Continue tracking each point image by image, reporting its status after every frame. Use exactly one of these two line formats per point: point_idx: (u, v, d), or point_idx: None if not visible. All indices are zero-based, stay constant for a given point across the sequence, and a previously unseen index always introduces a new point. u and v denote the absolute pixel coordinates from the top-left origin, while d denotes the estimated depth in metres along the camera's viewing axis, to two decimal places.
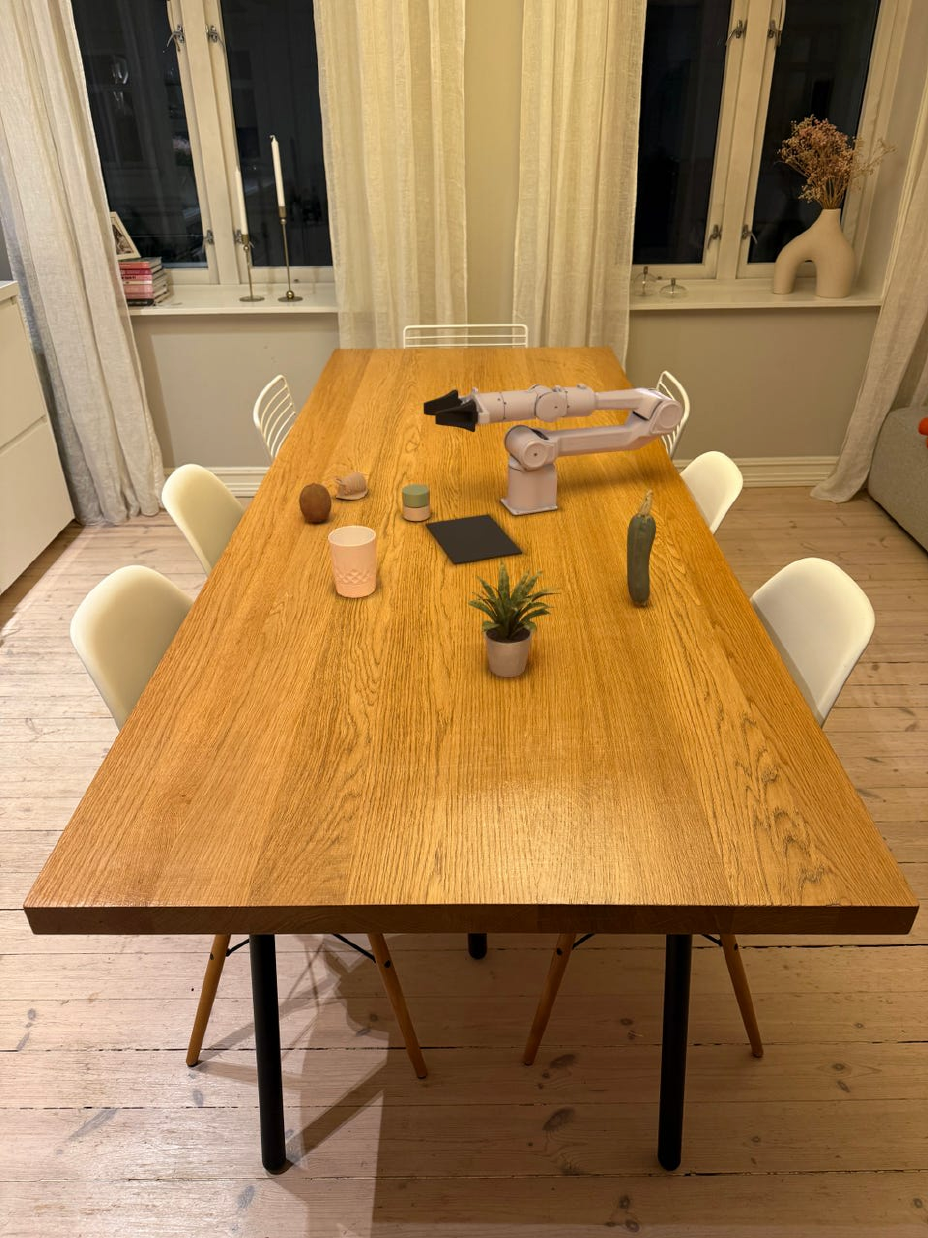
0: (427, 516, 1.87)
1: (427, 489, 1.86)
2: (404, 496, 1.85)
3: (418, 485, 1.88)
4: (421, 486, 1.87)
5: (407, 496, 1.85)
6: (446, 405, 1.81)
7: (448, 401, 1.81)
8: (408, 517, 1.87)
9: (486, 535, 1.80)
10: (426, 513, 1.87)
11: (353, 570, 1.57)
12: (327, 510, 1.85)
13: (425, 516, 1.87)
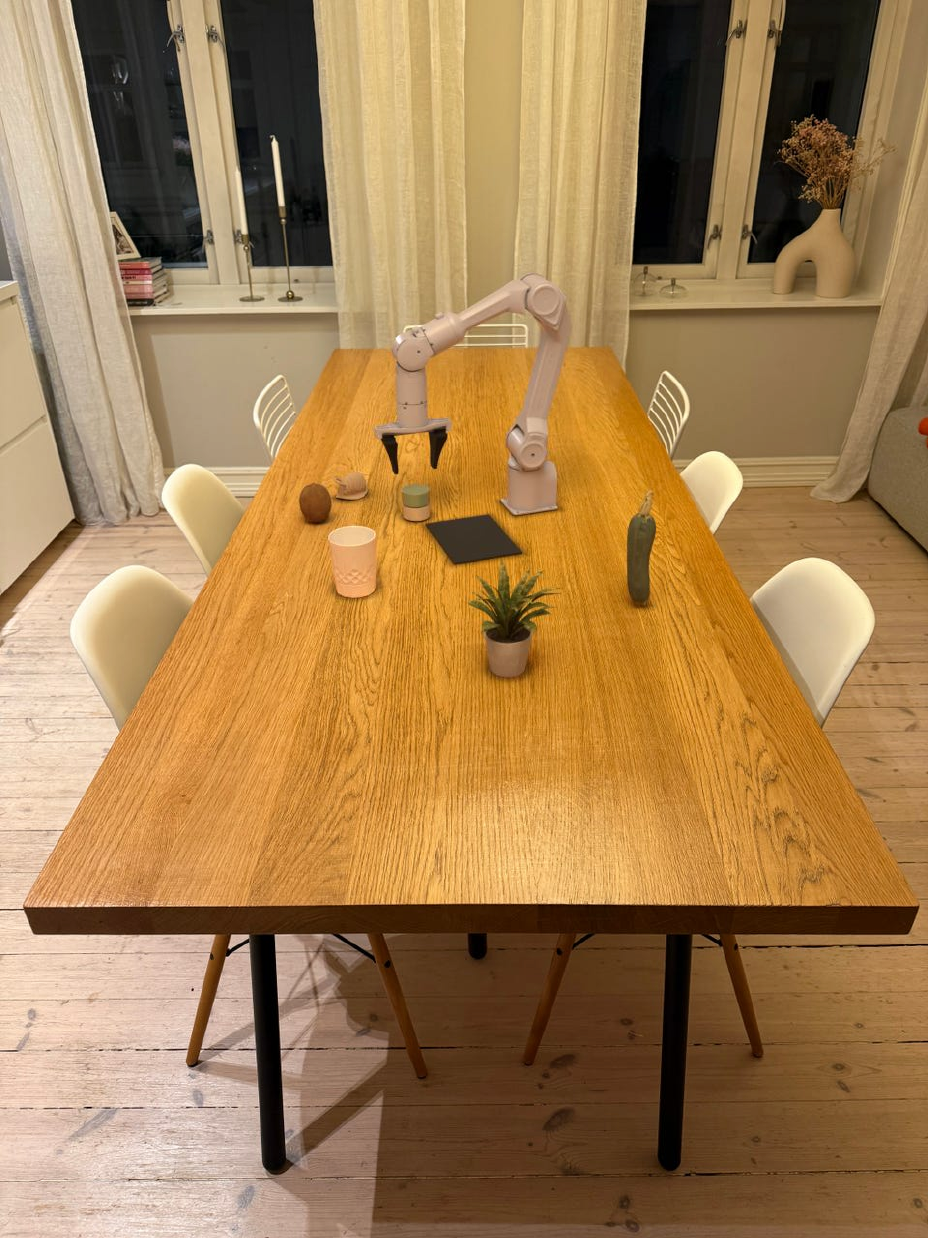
0: (427, 516, 1.87)
1: (427, 489, 1.86)
2: (404, 496, 1.85)
3: (418, 485, 1.88)
4: (421, 486, 1.87)
5: (407, 496, 1.85)
6: (432, 445, 1.83)
7: (430, 441, 1.84)
8: (408, 517, 1.87)
9: (486, 535, 1.80)
10: (426, 513, 1.87)
11: (353, 570, 1.57)
12: (327, 510, 1.85)
13: (425, 516, 1.87)
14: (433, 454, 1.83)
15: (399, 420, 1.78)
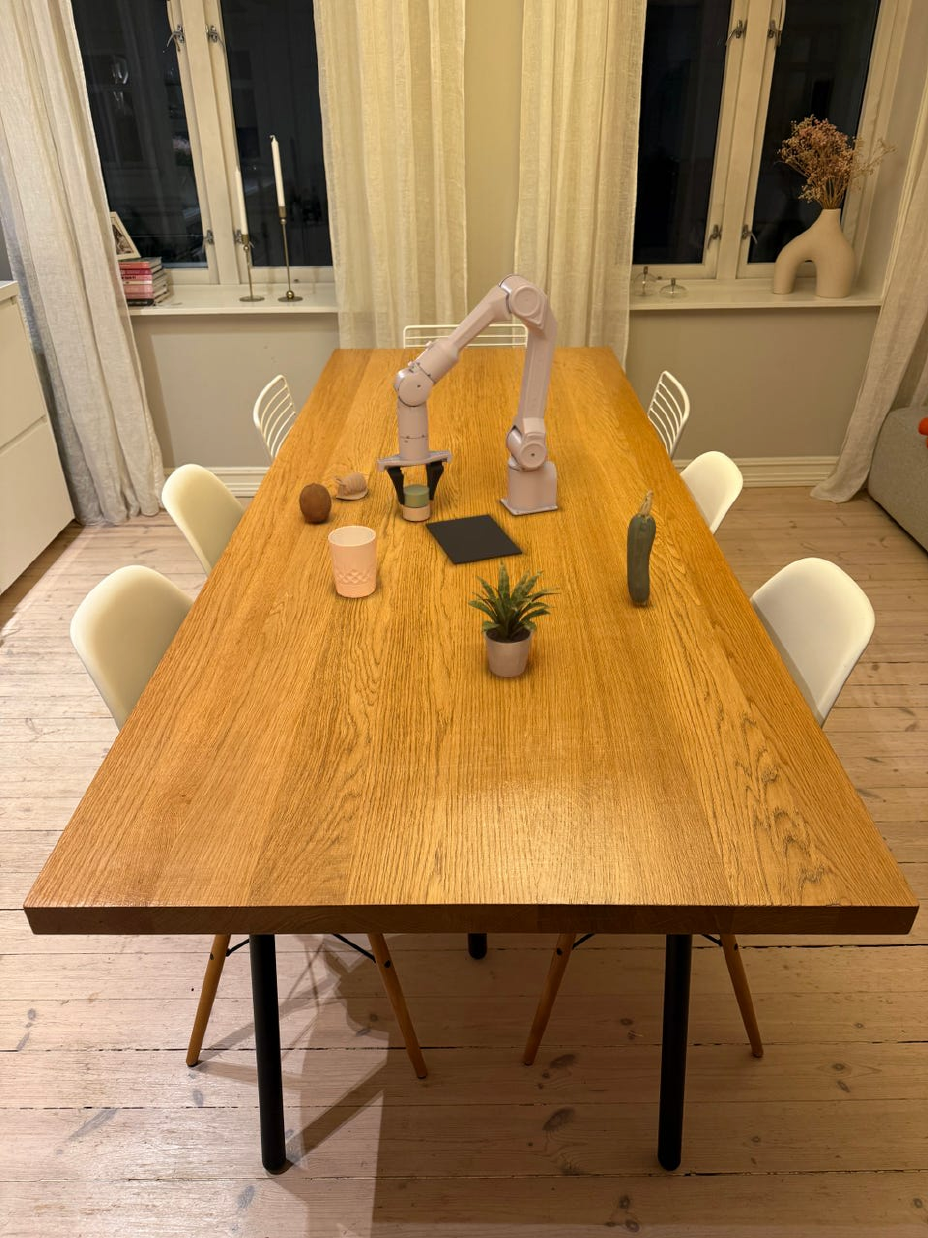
0: (427, 516, 1.87)
1: (427, 489, 1.86)
2: (404, 496, 1.85)
3: (418, 485, 1.88)
4: (421, 486, 1.87)
5: (407, 496, 1.85)
6: (428, 477, 1.86)
7: (427, 474, 1.87)
8: (408, 517, 1.87)
9: (486, 535, 1.80)
10: (426, 513, 1.87)
11: (353, 570, 1.57)
12: (327, 510, 1.85)
13: (425, 516, 1.87)
14: (430, 486, 1.86)
15: (401, 453, 1.81)
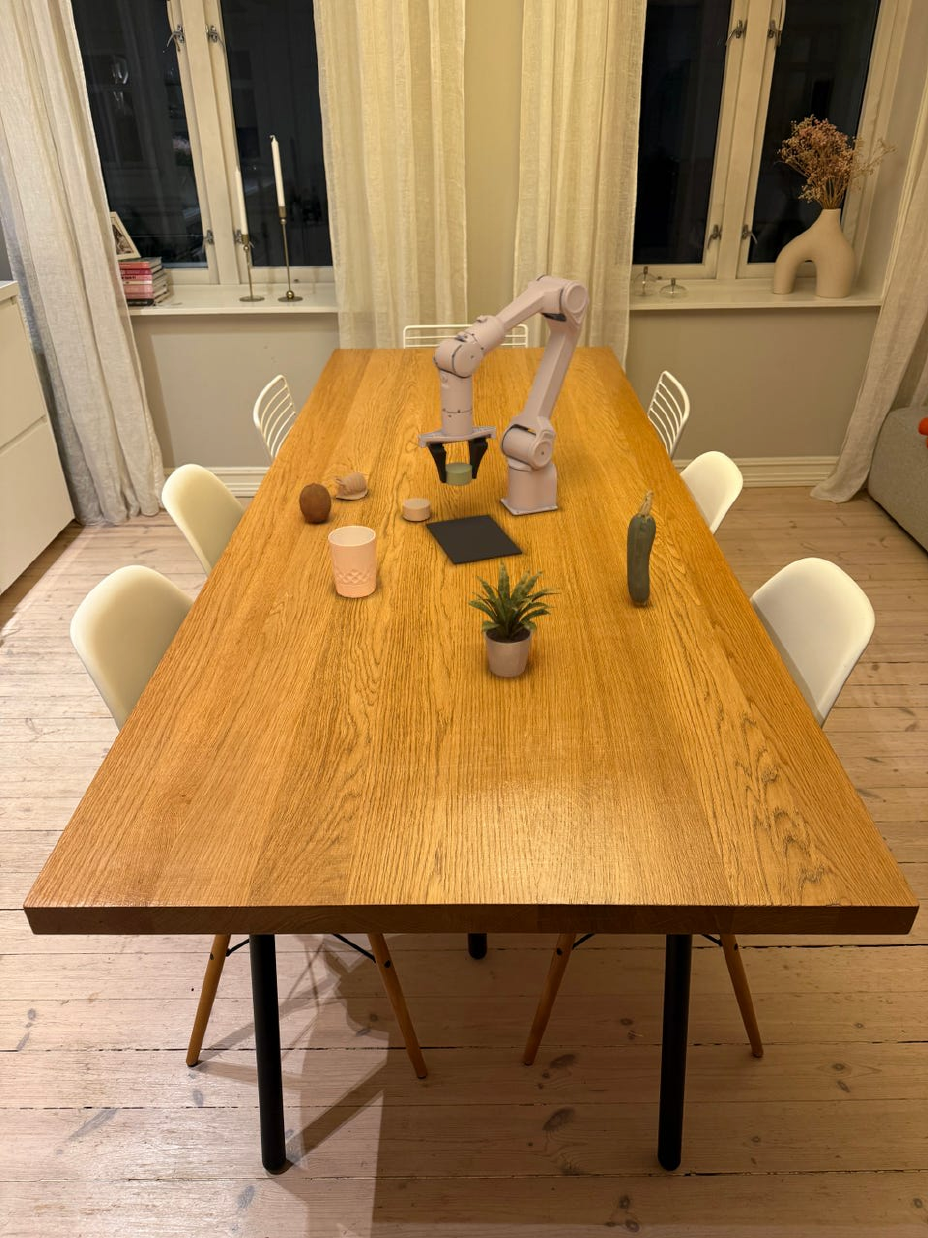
0: (427, 516, 1.87)
1: (470, 467, 1.78)
2: (446, 474, 1.77)
3: (460, 463, 1.79)
4: (463, 464, 1.79)
5: (449, 474, 1.76)
6: (471, 454, 1.78)
7: (470, 451, 1.78)
8: (408, 517, 1.87)
9: (486, 535, 1.80)
10: (426, 513, 1.87)
11: (353, 570, 1.57)
12: (327, 510, 1.85)
13: (425, 516, 1.87)
14: (473, 464, 1.78)
15: (443, 428, 1.72)
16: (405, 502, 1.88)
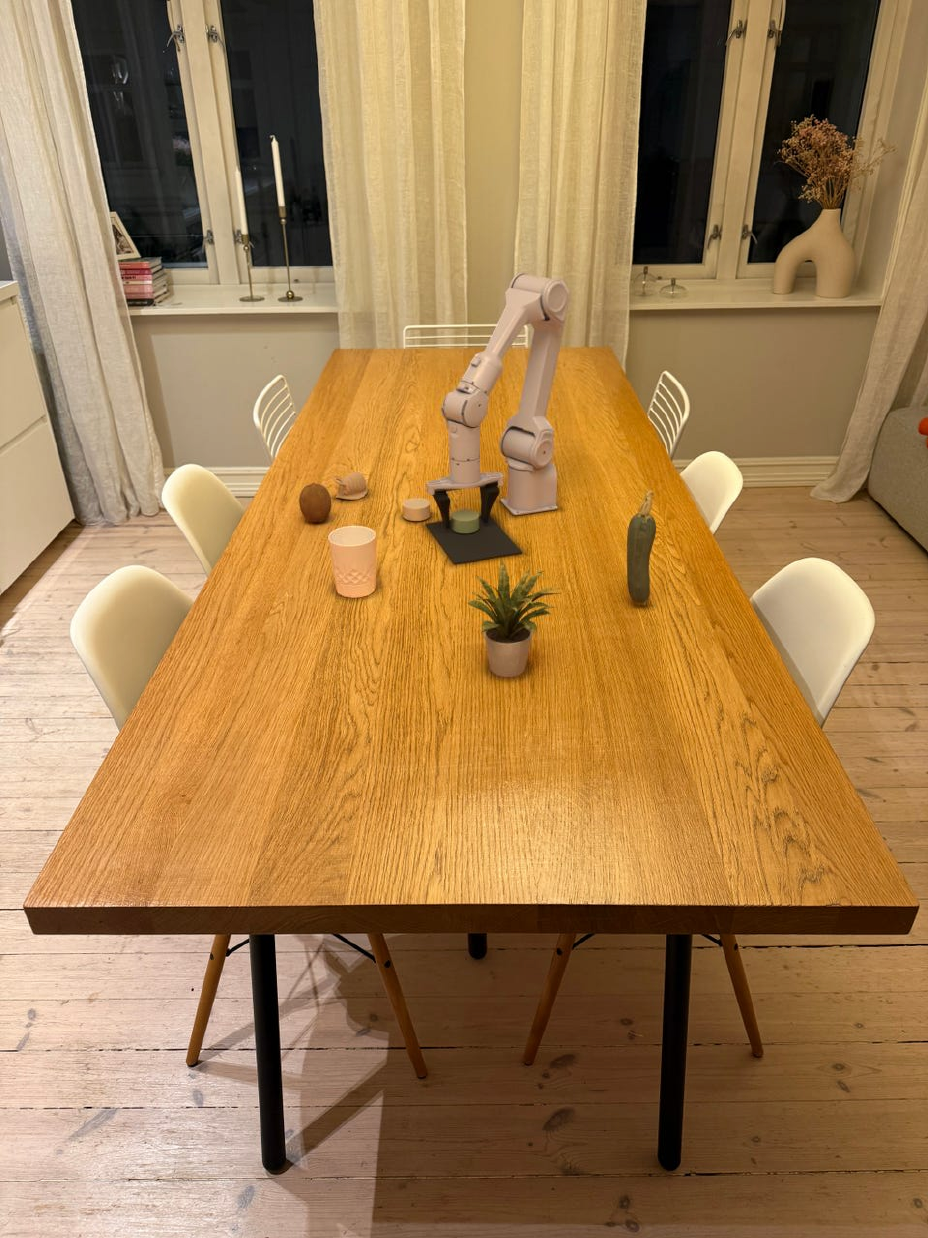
0: (427, 516, 1.87)
1: (477, 515, 1.81)
2: (453, 521, 1.80)
3: (467, 510, 1.83)
4: (470, 511, 1.83)
5: (457, 522, 1.80)
6: (483, 499, 1.81)
7: (482, 496, 1.82)
8: (408, 517, 1.87)
9: (486, 535, 1.80)
10: (426, 513, 1.87)
11: (353, 570, 1.57)
12: (327, 510, 1.85)
13: (425, 516, 1.87)
14: (484, 508, 1.81)
15: (452, 476, 1.76)
16: (405, 502, 1.88)
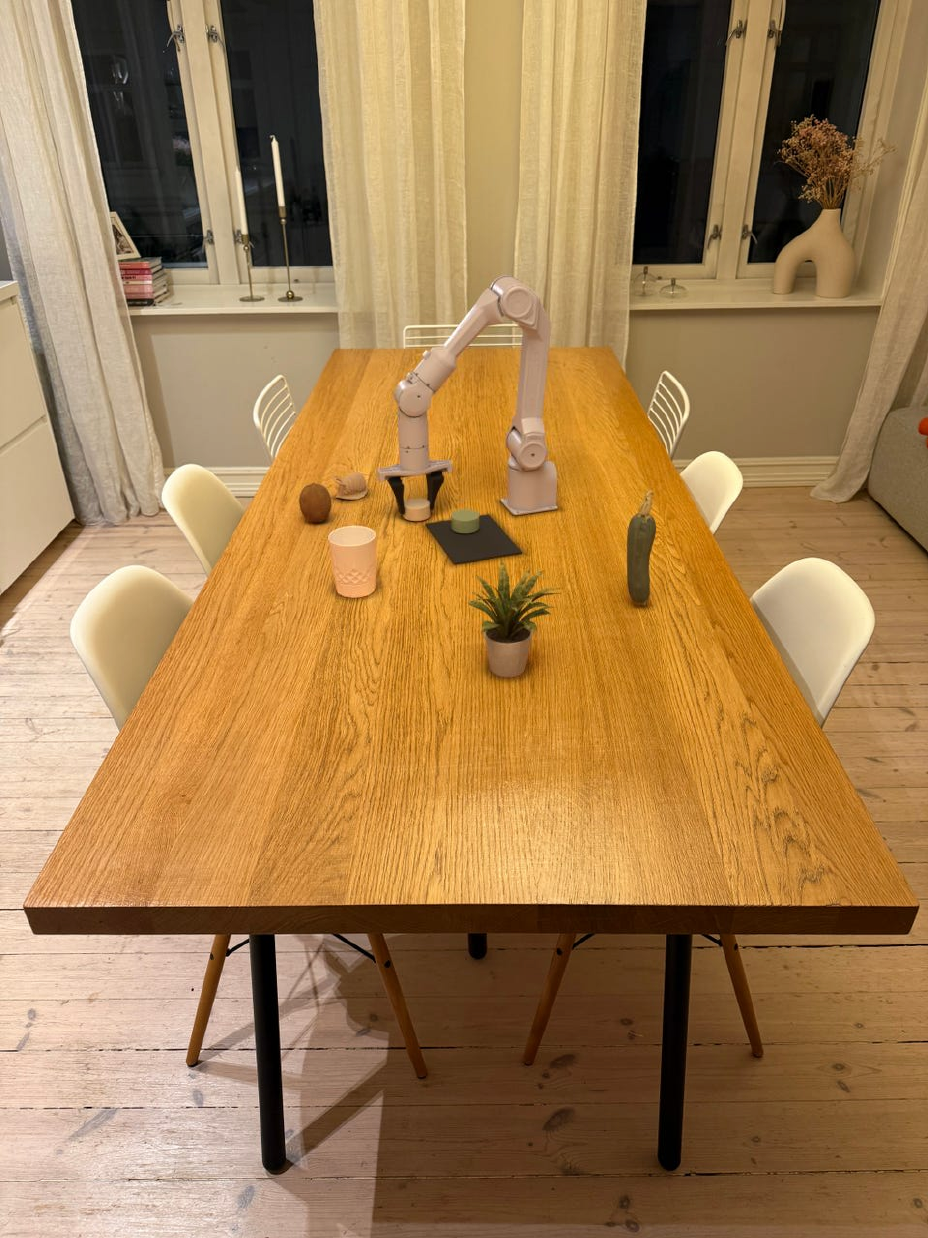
0: (427, 516, 1.87)
1: (477, 515, 1.81)
2: (453, 521, 1.80)
3: (467, 510, 1.83)
4: (470, 511, 1.83)
5: (457, 522, 1.80)
6: (429, 486, 1.87)
7: (428, 483, 1.88)
8: (408, 517, 1.87)
9: (486, 535, 1.80)
10: (426, 513, 1.87)
11: (353, 570, 1.57)
12: (327, 510, 1.85)
13: (425, 516, 1.87)
14: (430, 496, 1.87)
15: (401, 463, 1.82)
16: (405, 502, 1.88)
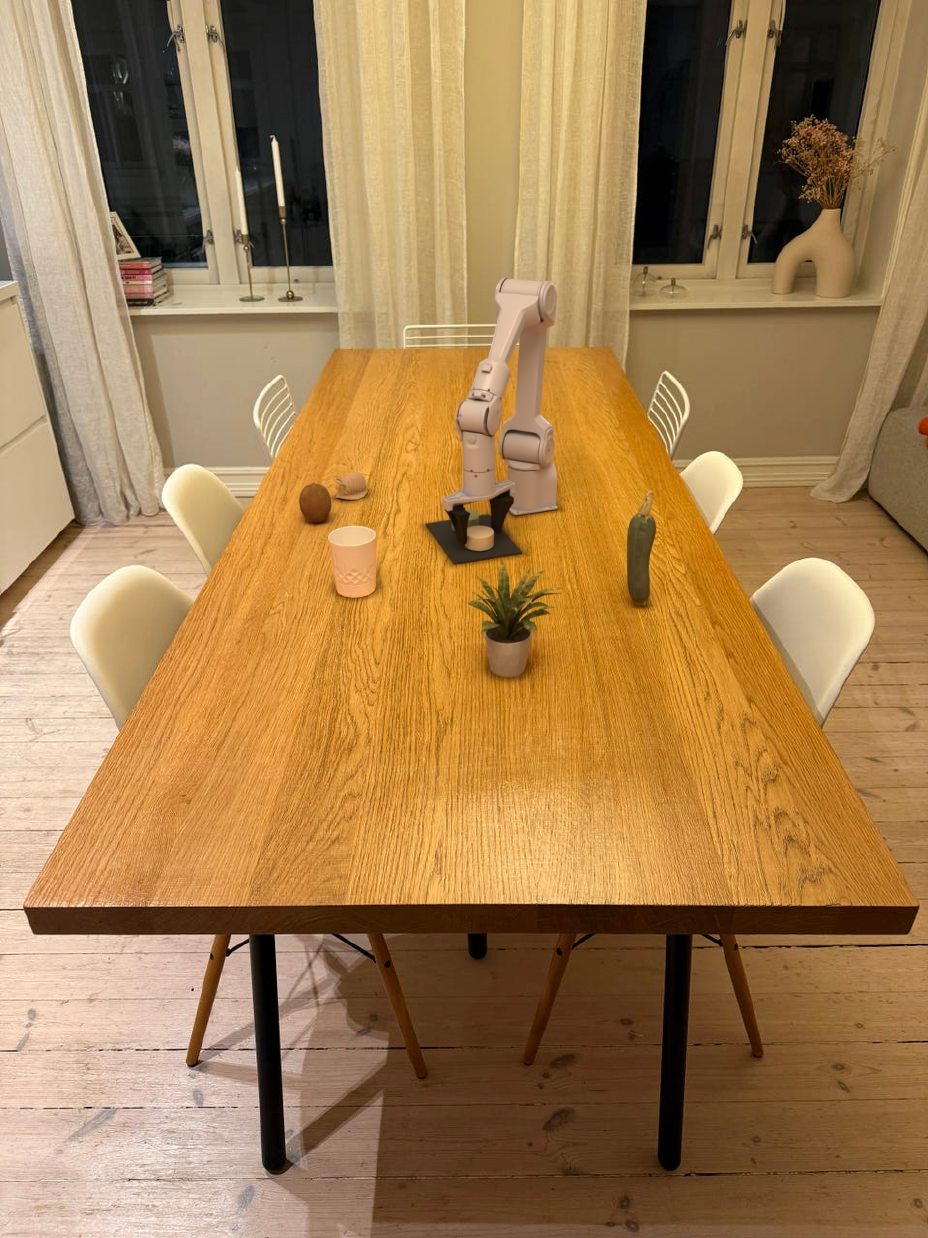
0: (493, 544, 1.75)
1: (477, 515, 1.81)
2: None
3: (467, 510, 1.83)
4: (470, 511, 1.83)
5: None
6: (495, 509, 1.75)
7: (492, 506, 1.75)
8: (474, 547, 1.74)
9: None
10: (492, 541, 1.74)
11: (353, 570, 1.57)
12: (327, 510, 1.85)
13: (491, 545, 1.75)
14: (497, 519, 1.75)
15: (468, 489, 1.68)
16: (467, 532, 1.75)
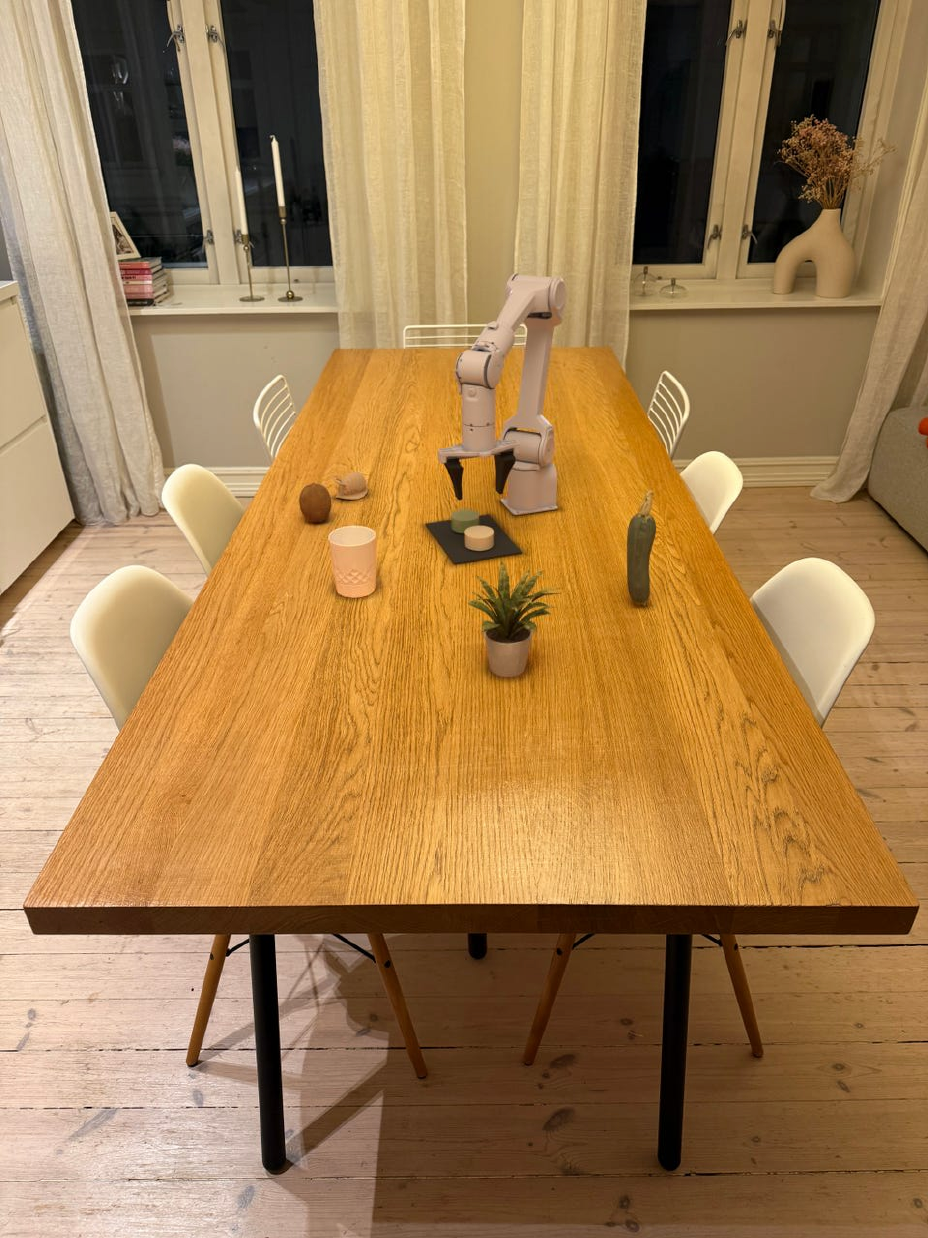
0: (493, 544, 1.75)
1: (477, 515, 1.81)
2: (453, 521, 1.80)
3: (467, 510, 1.83)
4: (470, 511, 1.83)
5: (457, 522, 1.80)
6: None
7: None
8: (474, 547, 1.74)
9: None
10: (492, 541, 1.74)
11: (353, 570, 1.57)
12: (327, 510, 1.85)
13: (491, 545, 1.75)
14: None
15: None
16: (467, 532, 1.75)
